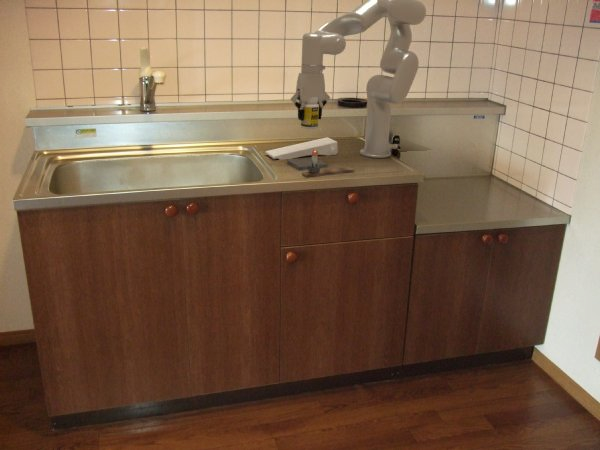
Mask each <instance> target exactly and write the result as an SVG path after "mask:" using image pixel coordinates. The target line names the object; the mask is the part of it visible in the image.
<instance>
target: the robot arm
mask: <svg viewBox="0 0 600 450" xmlns="http://www.w3.org/2000/svg"><path fill="white" fill-rule="evenodd" d="M426 15H427V10H426V6H425V5H424V3H423V2H422V1H420V0H365V1H363V2H362V3H361V4H359V5H358V6H357V7H355V9H353V10H351V11H350V12H348V13H345V14H343V15H340V16H338V17H336V18H334V19H332V20H329V21H328V22H326V23H325V24H324V25H322V26H321V27H319V28H318V29H317V30H316V31H314V32H307V33H304V34H303V35H302V38H301V39H302V40H301V41H302V42H301V70H300V72H299V73H298V75H297V79H296V86H295V93H294V94H293V96H291V97H290V101H291V102H292V104H293V105H294V106H295V107H296V108H297V118H298V120H299V121H300V122H301V121H303V120H304V110H303V107H304V105H305V103H306V102H308V101H309V99H310V98H316V97H317V98H318V102H317V104H319V117H318V120H321V119H322V115H323V109H324V107H325V105H327V102H328V101H329V100H330V99H331V96H330V95H329V94H328V93H327V92H326V83H325V74H324V73H323V71H324V70H326V66H325V65H324V59H323V58H324V55H330V56H331V55H332V56H337V55H340V54H342V53H343V52H344V51H345V49H346V46H347V42H346V39H345V37H347V36H354V35H358V34H361V33H362V34H363V33H364V32H366V31H367V30H368V29H370V28H371V27H372V26H373V25H374V24H376V23H377V22H378V21H380V20H381V19H383V18H387V20H388V23H389V27H390V34H389V39H388V42H387V43H386V46H385V48H384V51H383V54H382V56H381V59H380V63H379V67H380V69H381V70H382V71H383V72H384V73H387V74H390V75H393V76H390V75H384V74H376V75H373V76H371V77H370V78H369V79H368V81H367V83H366V100H367V103H366V104H367V109H366V121H365V137H364V147H363V148H362V149H360V150H359V154H360V155H361V156H364V157H366V158H367V157H368V158H373V159H374V158H376V159H383V158H389V157H391V156H392V151H391V150H395V149H396V150H397V149H398V147H399V145H398V144H397V143H393V144H392V143H389V140H390V130H391V126H390V125H391V120H392V119H391V118H392V105H391V104H395V105H396V104H400V103H403V101H405V99H406V98H407V96H408V95H409V92H410V90H411V87H412V85H413V83H414V81H415V77H416V75H417V73H418V69H419V64H420V63H419V58H418V56H417V54H416V53H415V52H413V51H411V50H409V49H410V46H411V44H412V41H413V40H412V39H413V35H412V30H411V27H410V25H411V26H417V25H419V24H422V22H423V21H424V20H425V19H426Z"/></svg>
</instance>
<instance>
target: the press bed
mask: <svg viewBox="0 0 600 450" xmlns="http://www.w3.org/2000/svg"><path fill="white" fill-rule="evenodd" d="M286 160H287V161H286V162H287V164H288V165H290V166H291V167H293V168H294V169H296V170H298V171H305V170H308V168H309V166H310V165H312V157H305V158H293V159H286ZM317 165H318V166H320V169H322V168H328V166H329V164H328V163H327V162H325V161H323V160H322V159H318V158H317Z"/></svg>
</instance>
